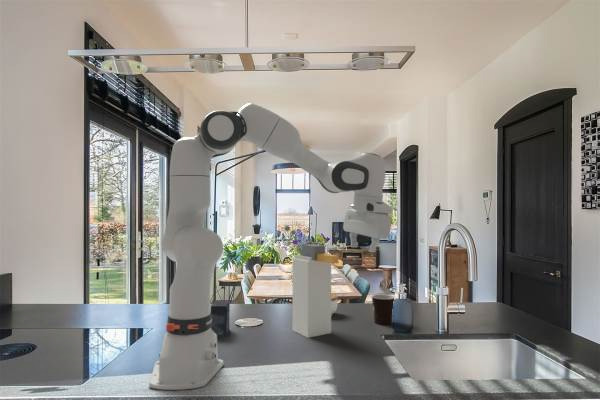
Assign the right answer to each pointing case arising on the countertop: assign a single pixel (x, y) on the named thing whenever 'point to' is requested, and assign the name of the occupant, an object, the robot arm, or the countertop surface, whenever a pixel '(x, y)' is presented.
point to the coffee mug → (383, 309)
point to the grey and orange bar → (318, 253)
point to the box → (220, 317)
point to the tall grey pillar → (311, 297)
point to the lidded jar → (334, 303)
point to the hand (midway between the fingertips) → (362, 249)
